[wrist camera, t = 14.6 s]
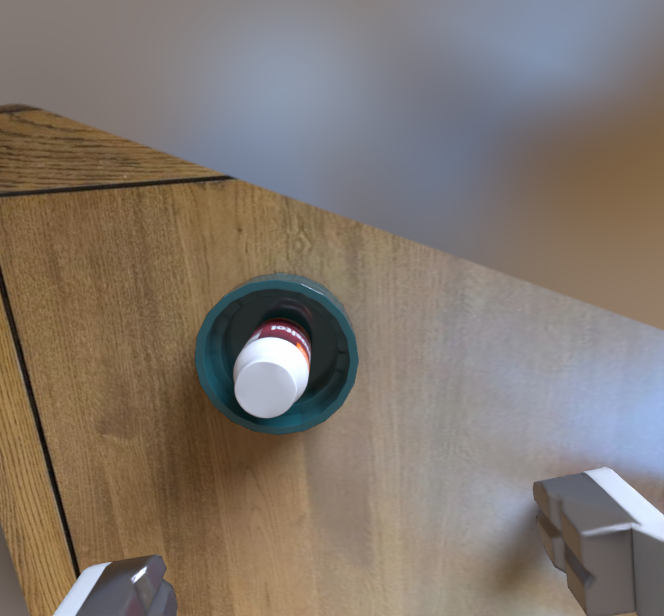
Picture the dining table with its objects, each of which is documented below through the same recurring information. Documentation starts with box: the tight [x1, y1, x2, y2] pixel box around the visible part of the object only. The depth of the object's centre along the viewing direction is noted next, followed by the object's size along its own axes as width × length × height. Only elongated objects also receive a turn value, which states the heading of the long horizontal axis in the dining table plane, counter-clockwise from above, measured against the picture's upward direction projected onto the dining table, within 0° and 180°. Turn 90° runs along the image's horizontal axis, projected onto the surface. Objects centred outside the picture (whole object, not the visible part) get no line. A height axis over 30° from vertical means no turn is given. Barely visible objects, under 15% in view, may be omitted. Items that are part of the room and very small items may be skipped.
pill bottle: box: [233, 318, 312, 418], centre depth 37 cm, size 6×6×11 cm
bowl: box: [195, 273, 359, 435], centre depth 40 cm, size 15×15×5 cm
